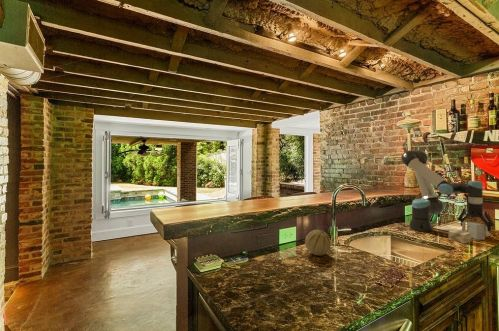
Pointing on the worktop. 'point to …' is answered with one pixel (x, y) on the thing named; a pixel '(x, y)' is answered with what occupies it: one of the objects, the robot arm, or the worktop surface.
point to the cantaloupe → (317, 242)
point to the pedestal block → (460, 236)
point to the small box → (476, 230)
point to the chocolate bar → (390, 276)
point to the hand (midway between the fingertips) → (475, 233)
